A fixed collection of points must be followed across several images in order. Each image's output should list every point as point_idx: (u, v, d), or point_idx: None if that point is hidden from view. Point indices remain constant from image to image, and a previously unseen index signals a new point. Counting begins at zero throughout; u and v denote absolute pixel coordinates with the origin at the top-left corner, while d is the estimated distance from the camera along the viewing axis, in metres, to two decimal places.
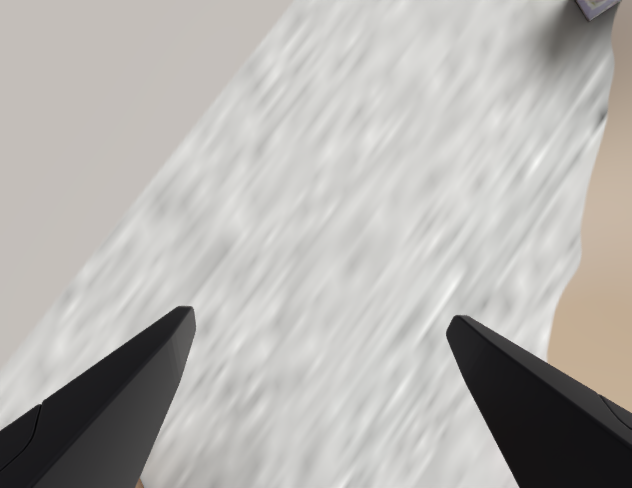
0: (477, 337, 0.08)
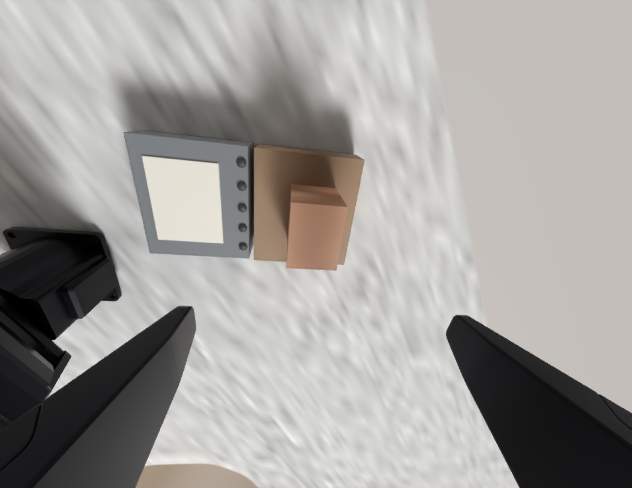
0: (477, 337, 0.08)
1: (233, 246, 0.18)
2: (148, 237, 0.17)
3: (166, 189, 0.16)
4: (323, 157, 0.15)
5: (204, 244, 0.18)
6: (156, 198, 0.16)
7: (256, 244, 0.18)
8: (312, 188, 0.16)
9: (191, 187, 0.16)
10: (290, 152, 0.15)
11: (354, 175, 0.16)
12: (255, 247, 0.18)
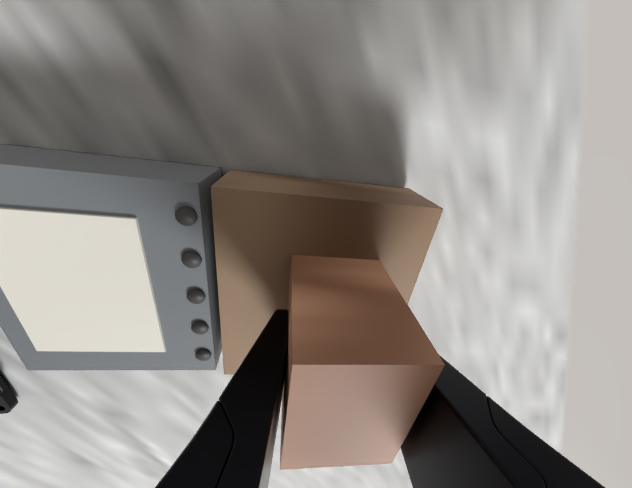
0: None
1: (185, 354, 0.10)
2: (17, 347, 0.09)
3: (31, 267, 0.08)
4: (359, 204, 0.07)
5: (130, 354, 0.09)
6: (14, 283, 0.08)
7: (227, 352, 0.10)
8: (336, 269, 0.07)
9: (84, 264, 0.08)
10: (290, 195, 0.07)
11: (418, 237, 0.08)
12: (225, 356, 0.10)
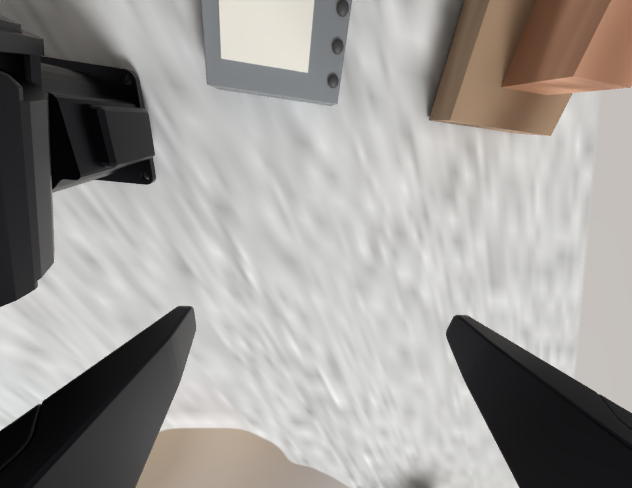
0: (477, 337, 0.08)
1: (320, 80, 0.13)
2: (207, 54, 0.12)
3: None
4: None
5: (282, 73, 0.13)
6: None
7: (461, 95, 0.14)
8: None
9: None
10: None
11: None
12: (458, 99, 0.14)
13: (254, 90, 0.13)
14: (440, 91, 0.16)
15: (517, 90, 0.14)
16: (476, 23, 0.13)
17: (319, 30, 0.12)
